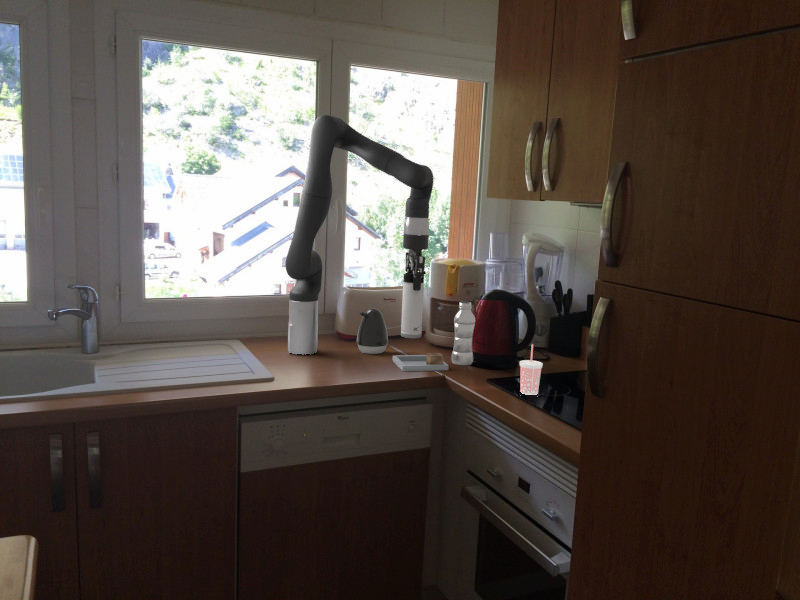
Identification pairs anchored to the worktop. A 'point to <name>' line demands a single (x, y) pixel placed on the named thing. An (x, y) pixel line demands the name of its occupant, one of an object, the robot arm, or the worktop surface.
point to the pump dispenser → (372, 332)
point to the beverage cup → (530, 375)
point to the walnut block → (434, 359)
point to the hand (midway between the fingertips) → (413, 288)
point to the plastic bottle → (463, 335)
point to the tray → (416, 363)
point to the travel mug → (412, 308)
